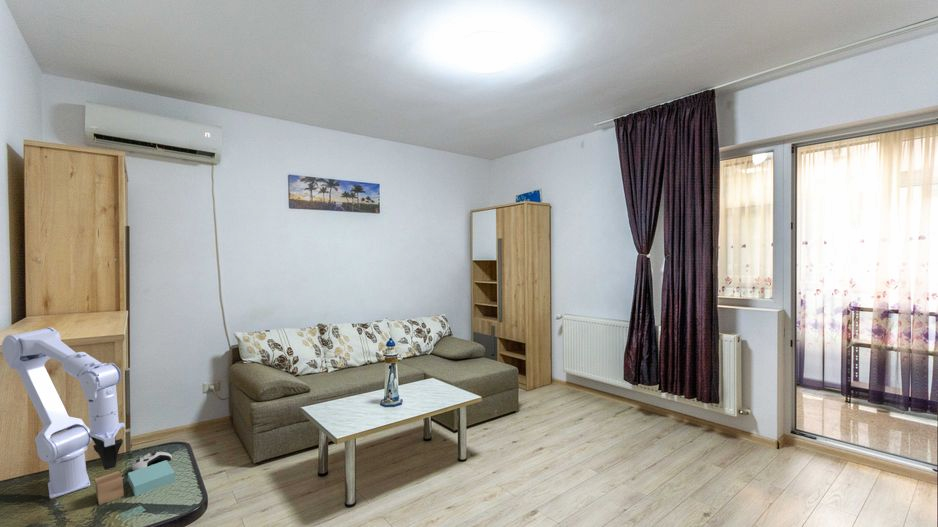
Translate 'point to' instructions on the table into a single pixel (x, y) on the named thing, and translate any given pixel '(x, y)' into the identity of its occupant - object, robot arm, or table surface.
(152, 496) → the table surface
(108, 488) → the walnut cube
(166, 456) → the game controller
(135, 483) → the teal box
